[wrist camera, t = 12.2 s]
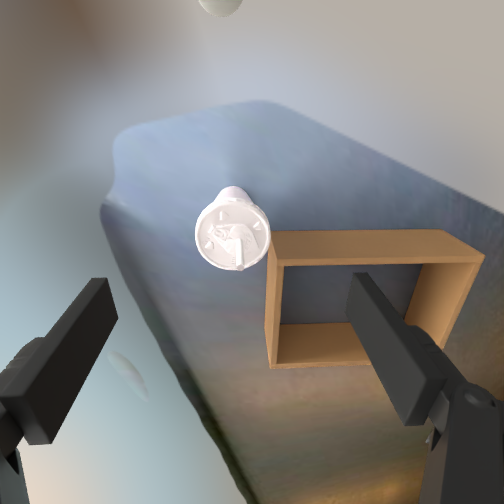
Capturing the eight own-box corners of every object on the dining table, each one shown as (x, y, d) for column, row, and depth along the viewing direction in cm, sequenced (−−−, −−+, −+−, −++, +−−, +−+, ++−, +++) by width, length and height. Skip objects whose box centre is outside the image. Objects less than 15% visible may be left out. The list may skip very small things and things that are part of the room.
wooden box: (268, 230, 34) (276, 259, 27) (441, 228, 35) (485, 255, 29) (264, 329, 41) (270, 369, 35) (407, 324, 42) (437, 362, 36)
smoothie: (246, 236, 34) (254, 312, 21) (196, 215, 32) (173, 284, 20) (271, 188, 31) (295, 243, 19) (217, 163, 30) (206, 205, 17)
